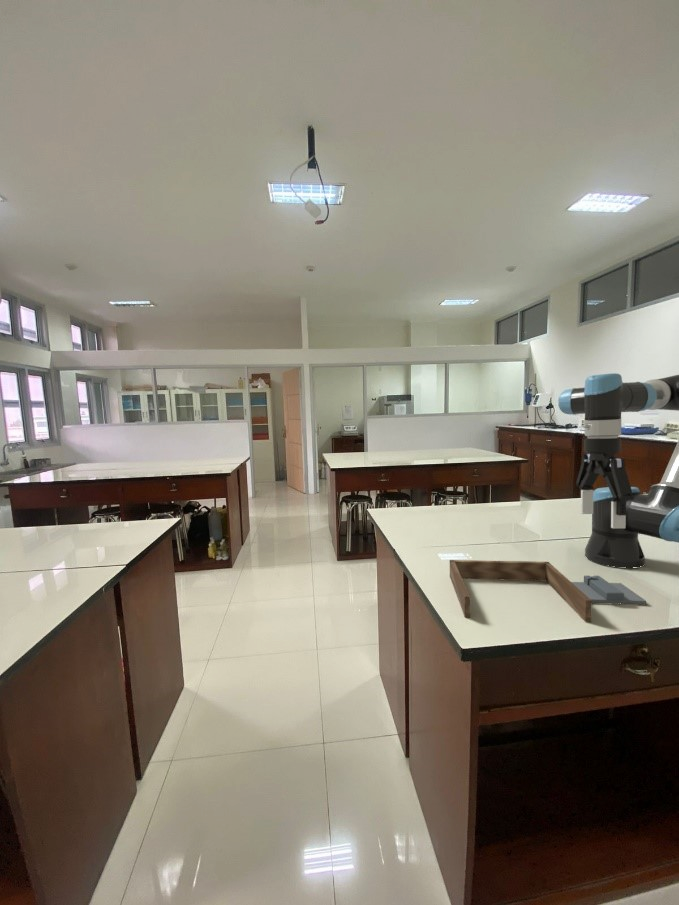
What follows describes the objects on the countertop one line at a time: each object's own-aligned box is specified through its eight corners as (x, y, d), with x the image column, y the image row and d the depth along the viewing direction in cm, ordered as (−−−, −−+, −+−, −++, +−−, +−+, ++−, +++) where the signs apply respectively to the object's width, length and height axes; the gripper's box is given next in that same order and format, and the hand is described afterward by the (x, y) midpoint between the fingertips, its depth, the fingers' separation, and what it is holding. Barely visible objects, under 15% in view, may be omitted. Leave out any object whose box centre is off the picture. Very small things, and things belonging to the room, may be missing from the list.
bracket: (606, 600, 89) (607, 592, 89) (583, 582, 99) (583, 575, 99) (624, 601, 89) (624, 593, 89) (598, 582, 99) (598, 575, 99)
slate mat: (620, 586, 98) (621, 583, 98) (646, 605, 88) (646, 601, 88) (564, 585, 100) (564, 581, 100) (582, 603, 90) (582, 599, 90)
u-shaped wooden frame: (548, 578, 105) (548, 561, 104) (591, 622, 82) (591, 600, 81) (449, 576, 108) (449, 560, 108) (464, 617, 86) (464, 596, 85)
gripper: (562, 435, 105) (562, 508, 107) (617, 440, 80) (615, 535, 82) (590, 434, 104) (590, 508, 106) (654, 438, 80) (652, 535, 81)
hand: (601, 520), depth 94 cm, fingers open, 13 cm apart
